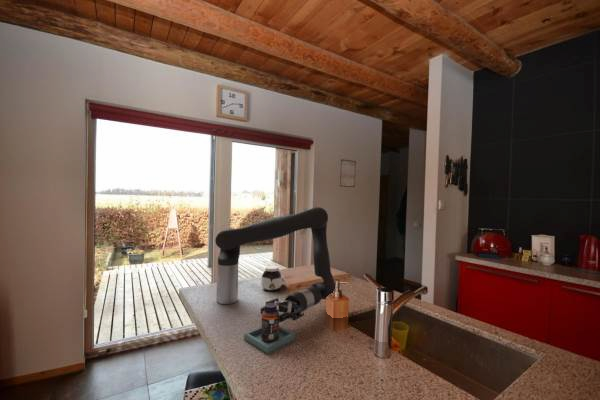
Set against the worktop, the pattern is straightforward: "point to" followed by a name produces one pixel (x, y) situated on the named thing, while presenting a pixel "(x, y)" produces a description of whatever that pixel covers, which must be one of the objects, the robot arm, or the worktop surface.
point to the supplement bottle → (270, 323)
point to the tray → (269, 347)
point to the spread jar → (272, 279)
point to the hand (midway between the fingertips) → (269, 315)
